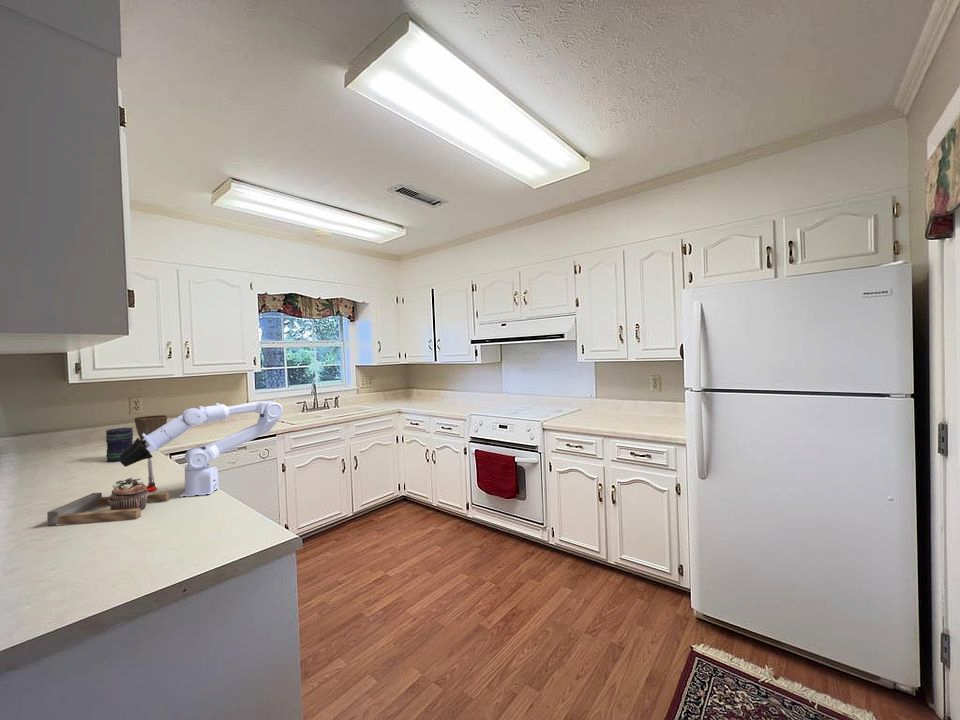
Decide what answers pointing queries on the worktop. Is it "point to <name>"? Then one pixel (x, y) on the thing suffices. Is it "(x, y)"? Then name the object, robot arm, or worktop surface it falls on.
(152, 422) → the plant pot
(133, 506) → the cupcake
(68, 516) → the guide track
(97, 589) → the worktop surface
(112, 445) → the storage jar
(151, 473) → the tow hook
